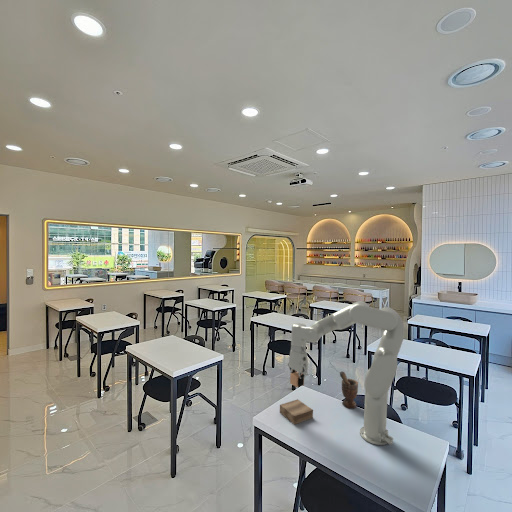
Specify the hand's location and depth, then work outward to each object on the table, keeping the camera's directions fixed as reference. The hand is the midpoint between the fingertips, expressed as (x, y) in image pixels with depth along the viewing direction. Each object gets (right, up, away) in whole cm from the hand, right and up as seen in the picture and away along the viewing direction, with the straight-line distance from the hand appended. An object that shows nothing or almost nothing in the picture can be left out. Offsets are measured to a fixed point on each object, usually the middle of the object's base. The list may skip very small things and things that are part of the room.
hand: (297, 382), depth 149 cm
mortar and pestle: (+30, -18, +10) cm, 36 cm away
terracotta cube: (0, -1, 0) cm, 1 cm away
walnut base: (-1, -17, 0) cm, 17 cm away
